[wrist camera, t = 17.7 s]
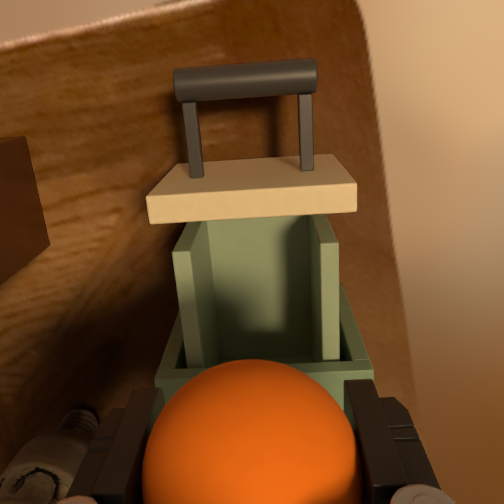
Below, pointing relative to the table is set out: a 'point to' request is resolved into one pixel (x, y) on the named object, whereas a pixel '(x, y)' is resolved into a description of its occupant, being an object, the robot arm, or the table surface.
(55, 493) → the light bulb
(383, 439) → the robot arm
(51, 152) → the table surface
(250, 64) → the drawer
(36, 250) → the stand
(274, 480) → the ball
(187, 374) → the cabinet
